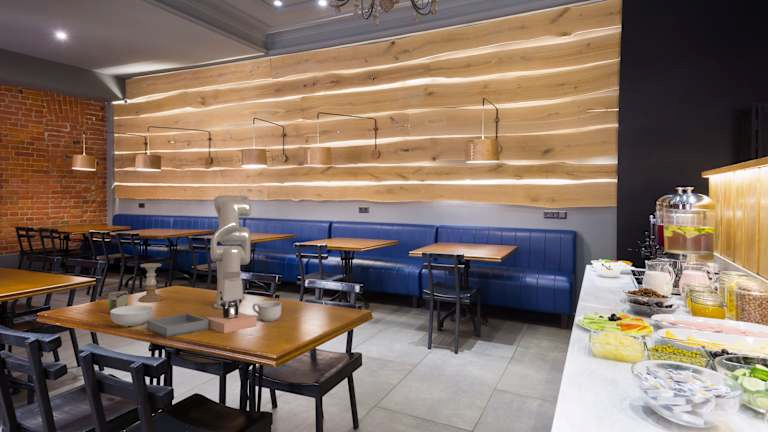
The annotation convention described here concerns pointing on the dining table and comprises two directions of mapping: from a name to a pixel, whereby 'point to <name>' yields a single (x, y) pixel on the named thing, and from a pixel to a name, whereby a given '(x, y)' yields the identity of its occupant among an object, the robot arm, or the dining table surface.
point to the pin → (232, 309)
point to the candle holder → (150, 284)
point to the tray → (177, 325)
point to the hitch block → (231, 322)
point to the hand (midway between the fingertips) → (230, 315)
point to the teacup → (268, 310)
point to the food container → (118, 299)
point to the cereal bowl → (131, 315)
